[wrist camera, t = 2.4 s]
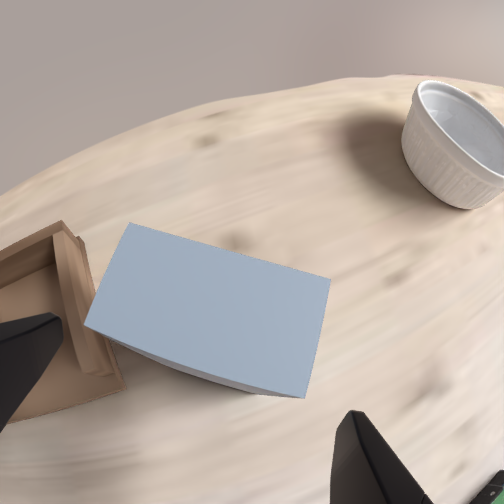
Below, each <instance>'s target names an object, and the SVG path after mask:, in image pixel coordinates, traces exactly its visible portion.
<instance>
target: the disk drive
mask: <svg viewBox="0 0 504 504" xmlns="http://www.w3.org/2000/svg"><path fill="white" fill-rule="evenodd" d="M470 504H504V470H500V471H499V472H498V473H497V474H496V476H495V477H494V478H493V479H492V480H491V481H490V482H489V484H488V485H486V487H485V488H484V489H483V490H482V491H481V492H480V493H479V495H478V496H477V497H476V498H475V499H474V500H473V501H472V502H471V503H470Z"/></svg>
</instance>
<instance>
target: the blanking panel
mask: <svg viewBox="0 0 504 504" xmlns="http://www.w3.org/2000/svg"><path fill="white" fill-rule="evenodd" d="M330 282H331V279H328V278H324V277H321V276H317V275H314V274H310V273H307V272H303V271H299V270H296V269H292V268H289V267H285V266H281V265H278V264H274V263H271V262H267V261H264V260H260V259H257V258H253V257H249V256H246V255H242V254H239V253H235V252H232V251H228V250H225V249H221V248H218V247H214V246H210V245H207V244H203V243H200V242H196V241H193V240H189V239H186V238H182V237H179V236H175V235H172V234H168V233H165V232H161V231H158V230H154V229H151V228H147V227H144V226H140V225H137V224H133V223H130V222H129V224H128V226H127V228H126V230H125V232H124V234H123V236H122V238H121V240H120V242H119V244H118V246H117V248H116V250H115V252H114V255H113V257H112V259H111V261H110V263H109V265H108V268H107V270H106V272H105V274H104V276H103V279H102V281H101V283H100V286H99V288H98V290H97V293H96V295H95V297H94V300H93V302H92V305H91V307H90V310H89V312H88V315H87V317H86V320H85V322H84V325H85V326H86V327H88V328H90V329H92V330H94V331H96V332H97V333H99V334H101V335H103V336H105V337H107V338H109V339H111V340H113V341H115V342H117V343H119V344H121V345H123V346H125V347H127V348H129V349H131V350H133V351H135V352H137V353H139V354H141V355H143V356H146V357H148V358H150V359H152V360H154V361H157V362H159V363H161V364H163V365H166V366H168V367H170V368H173V369H176V370H179V371H182V372H185V373H188V374H191V375H194V376H197V377H200V378H203V379H206V380H209V381H212V382H216V383H219V384H222V385H226V386H229V387H233V388H236V389H240V390H243V391H247V392H251V393H255V394H259V395H269V396H279V397H291V398H305V396H306V392H307V388H308V384H309V380H310V376H311V372H312V368H313V363H314V359H315V355H316V350H317V346H318V342H319V337H320V332H321V328H322V323H323V318H324V313H325V308H326V303H327V298H328V293H329V287H330Z"/></svg>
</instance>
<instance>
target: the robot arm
mask: <svg viewBox="0 0 504 504" xmlns="http://www.w3.org/2000/svg"><path fill="white" fill-rule="evenodd" d="M63 340H64V334H63V325H62V319H61V317H60V316H58V315H57V314H55V313H53V312H47V313H43V314H38V315H34V316H29V317H25V318H20V319H16V320H11V321H7V322H2V323H0V433H1V431H2V430H3V428H4V427H5V425H6V424H7V423H8V421H9V420H10V418H11V417H12V415H13V414H14V413H15V411H16V410H17V409H18V407H19V406H20V404H21V403H22V402H23V400H24V399H25V398H26V396H27V395H28V394H29V392H30V391H31V390H32V388H33V387H34V386H35V384H36V383H37V382H38V381H39V379H40V378H41V376H42V375H43V373H44V372H45V370H46V369H47V367H48V365H49V364H50V362H51V360H52V359H53V357H54V356H55V354H56V353H57V351H58V349H59V348H60V346H61V345H62V343H63ZM424 493H425V492H424V491H423V489H422V488H421V487H420V485H419V484H418V483H417V482H416V480H415V479H414V478H413V476H412V475H411V474H410V472H409V471H408V470H407V468H406V467H405V466H404V465H403V463H402V462H401V461H400V459H399V458H398V457H397V455H396V454H395V453H394V451H393V450H392V449H391V447H390V446H389V445H388V444H387V442H386V441H385V440H384V438H383V437H382V436H381V434H380V433H379V432H378V430H377V429H376V428H375V426H374V425H373V424H372V422H371V421H370V420H369V418H368V417H367V416H366V414H365V413H364V412H362V411H355V410H350V411H349V412H348V413H347V414H346V416H345V417H344V419H343V420H342V422H341V423H340V425H339V426H338V428H337V431H336V436H335V445H334V453H333V461H332V469H331V479H330V504H434V503H433V502H432V501H431V500H430V498H429V497H428V496H427V494H424Z"/></svg>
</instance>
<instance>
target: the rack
mask: <svg viewBox="0 0 504 504" xmlns="http://www.w3.org/2000/svg"><path fill="white" fill-rule="evenodd" d="M95 295H96V293H95V289H94V285H93V281H92V277H91V273H90V268H89V264H88V259H87V254H86V250H85V244H84V242H83V240H82V239H81V238H80V237H79V236H78V237H75V236H74V235H73V233H72V232H71V231H70V230H69V229H68V227H67V226H66V225H65V224H64V222H63V221H62V220H60V221H58V222H56V223H54V224H52V225H50V226H48V227H46V228H44V229H42V230H40V231H38V232H36V233H34V234H32V235H30V236H28V237H26V238H24V239H22V240H20V241H18V242H16V243H14V244H12V245H10V246H8V247H7V248H5V249H3V250H1V251H0V323H2V322H7V321H11V320H16V319H20V318H25V317H29V316H34V315H38V314H43V313H47V312H53V313H55V314H57V315H58V316H60V317H61V319H62V325H63V334H64V340H63V343H62V345H61V346H60V348H59V349H58V351H57V353H56V354H55V356H54V357H53V359H52V360H51V362H50V364H49V365H48V367H47V369H46V370H45V372H44V373H43V375H42V376H41V378H40V379H39V381H38V382H37V383H36V384H35V386H34V387H33V388H32V390H31V391H30V392H29V394H28V395H27V396H26V398H25V399H24V400H23V402H22V403H21V404H20V406H19V407H18V409H17V410H16V411H15V413H14V414H13V415H12V417H11V418H10V420H9V421H8V423H7V424H10V423H14V422H18V421H22V420H26V419H30V418H34V417H37V416H41V415H45V414H48V413H52V412H56V411H59V410H63V409H66V408H69V407H73V406H76V405H79V404H82V403H86V402H89V401H92V400H95V399H98V398H101V397H104V396H107V395H110V394H113V393H116V392H119V391H122V390H125V389H126V386H125V384H124V381H123V378H122V376H121V373H120V370H119V368H118V365H117V362H116V359H115V356H114V353H113V350H112V347H111V344H110V341H109V338H107V337H105V336H103V335H101V334H99V333H97V332H96V331H94V330H92V329H90V328H88V327H86V326H85V325H84V322H85V320H86V317H87V315H88V312H89V310H90V307H91V305H92V302H93V300H94V297H95Z"/></svg>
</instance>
